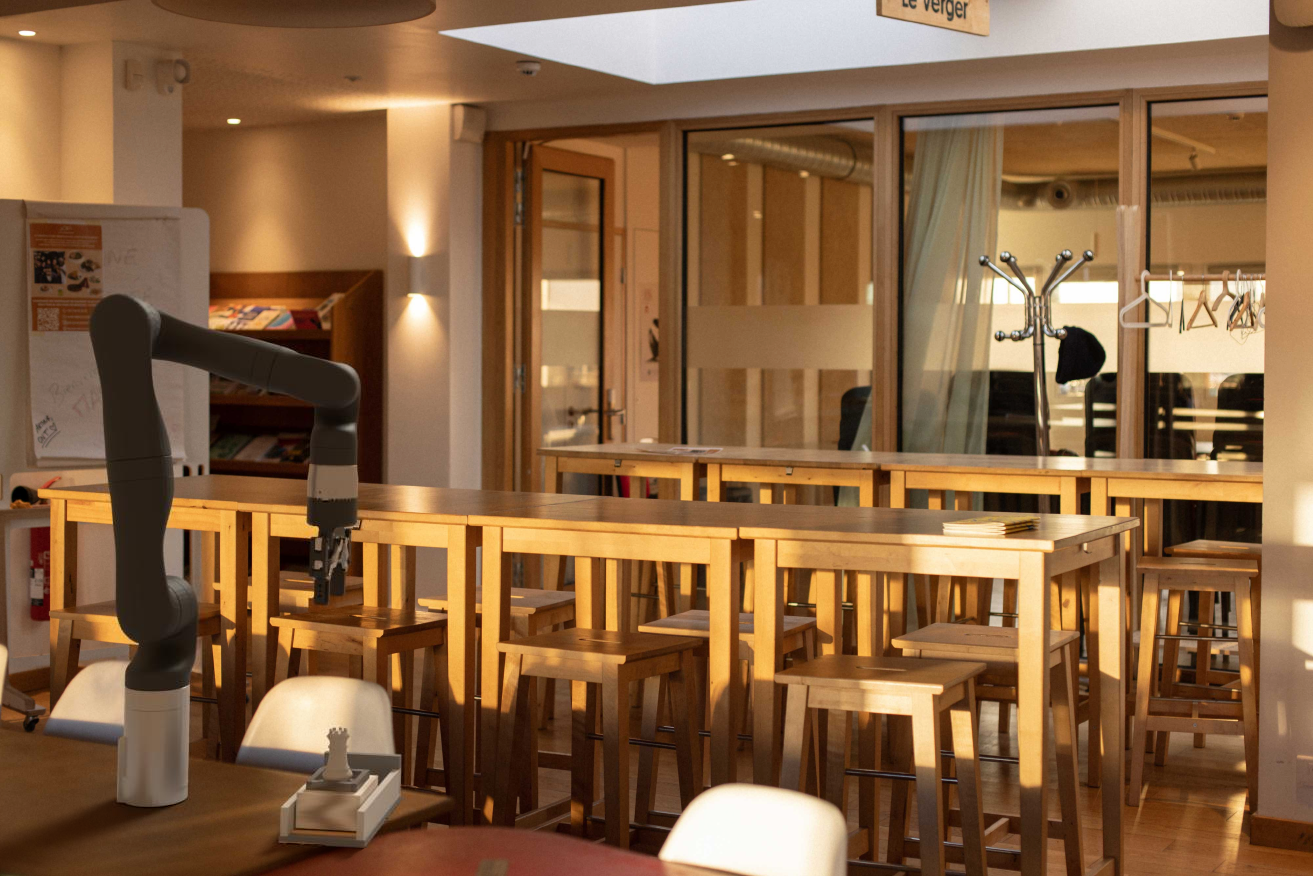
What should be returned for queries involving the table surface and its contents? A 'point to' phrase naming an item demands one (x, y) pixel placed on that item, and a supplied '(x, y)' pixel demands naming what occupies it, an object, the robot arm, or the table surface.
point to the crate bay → (368, 813)
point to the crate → (333, 801)
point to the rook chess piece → (337, 757)
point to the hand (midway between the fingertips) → (329, 600)
